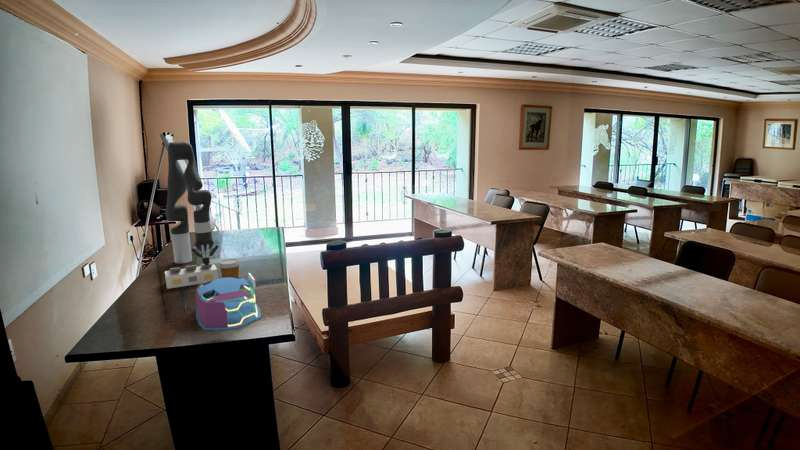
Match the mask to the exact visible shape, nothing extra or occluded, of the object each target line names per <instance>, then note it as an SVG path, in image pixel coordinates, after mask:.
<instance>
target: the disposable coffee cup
mask: <svg viewBox="0 0 800 450" xmlns="http://www.w3.org/2000/svg"><path fill="white" fill-rule="evenodd" d="M239 266H240V261H239V259H237V258H227V259H224V260H223V259H222V260H220V261H219V263H218V267H219V268H220V273H221V278H227V277H234V278H237V279H238V278H239V268H240V267H239Z"/></svg>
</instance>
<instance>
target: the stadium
mask: <svg viewBox="0 0 800 450" xmlns="http://www.w3.org/2000/svg"><path fill="white" fill-rule="evenodd" d="M247 275H248V276H247V277H248V279H245V278H243V277H238V279H237V278H234V277H227V278H222V277H220V278H218V279H215V280H212V281H209V282H206V283H201V284H198V286H197V287H196V291H195V292H196V293H195V296H196V297H195V303H196V310H195V317H196V320H197V323H198V326H200V327H201V328H202V329H203V330H204V331H228V330H230V331H231V330H235V329H236V330H237V329H239V328H243V327H245V326H247V325H250V324H252V323H254V322H256V321H258V320H260V319H262V311H261V309H260V306H259V305H258V304H257V302H256V299H257V298H256V294H255V289H256V287H257V286H256V279H255V277H254V276H253V275H252V274H251V273H250V272H248V274H247ZM241 286H242V287H243V290H242V291H240V289H241ZM245 290H247V291H248V292H247V291H245ZM217 294H218V295H217ZM248 295H249V296H250V297H248Z"/></svg>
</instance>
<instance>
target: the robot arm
mask: <svg viewBox="0 0 800 450" xmlns="http://www.w3.org/2000/svg"><path fill="white" fill-rule="evenodd" d="M192 146H193V145H192V144H191V143H190V142H189V141H171V142H169V143H168V146H167V159H168V160H167V161H168V162H167V163H168V170H167V171H168V175H167V196H166V197H167V198H166V199H167V200H166V207H165V217H166V220H167V221H168V222H170V223H172V222H173V223H175V222H180V223H179V224H177V225H175V226H174V227H172V228H171V230H170V234H171V242H172V243H171V244H172V250H173V252H172V253H173V259H174V263H175V264H179V265H181V264H188V263H190V262H193V255H192V252H193V253H194V254H195V255H196V256H198V258H202V263H204V264H205V265H208V264H209V263H211V262H210V257H213V256H214V254H215V253H216V252H217V250H218V248H220V246H219V245H218V244H215V242H214V239H213V235H212V234H213V232H212V223H211V219H210V208H211V202H212V193H211V192H210V190H207V189H203V182H202V181H203V180H201V176H200V173H199V171H198V165H197V161H196V158H195V153H194V149H193V147H192ZM177 161H188V164H187V166H186V167H185V170H184V172H183V171H182V170H181V168H180V167H179V166H178V164H177ZM186 191H187V202H188V203H189V204H190V205H191V206H200V205H202V207H201V208H199V209H196V210H194V211H193V221H194V224H193V228H194V237H195V238H194V239H195V243H194V246H193V247H192V245H191V237H190V225H189V212H188V206H187V205H185V204H176V203H177V202H178V201H180V198H182V197H183V195H184V194H185V193H186ZM211 248H212V249H211ZM197 249H198V250H199V251H200V252H201V253H200V252H199V251H198V250H197Z"/></svg>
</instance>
